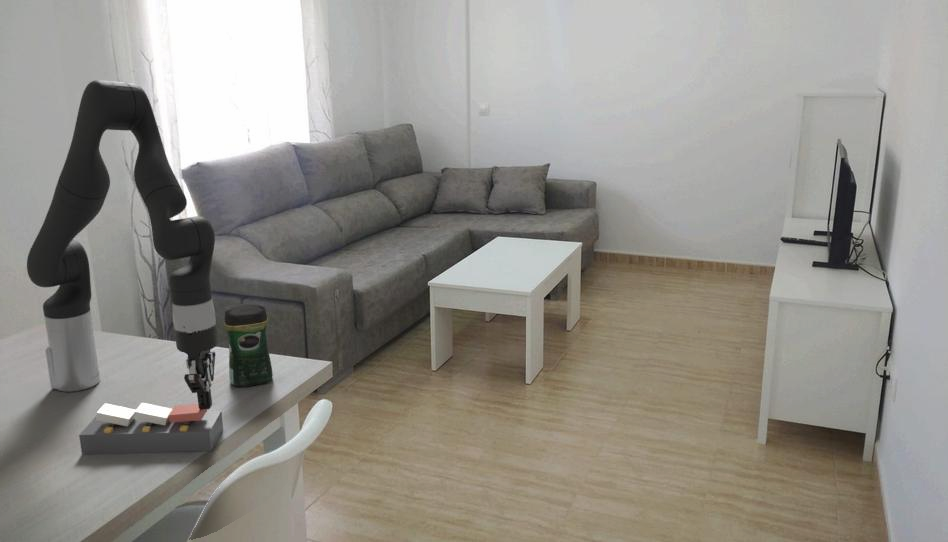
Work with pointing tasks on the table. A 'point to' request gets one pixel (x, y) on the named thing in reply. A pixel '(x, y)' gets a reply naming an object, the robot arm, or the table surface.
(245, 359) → the coffee jar
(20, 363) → the table surface
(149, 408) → the block
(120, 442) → the switch panel
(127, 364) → the table surface
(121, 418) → the rocker
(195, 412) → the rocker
